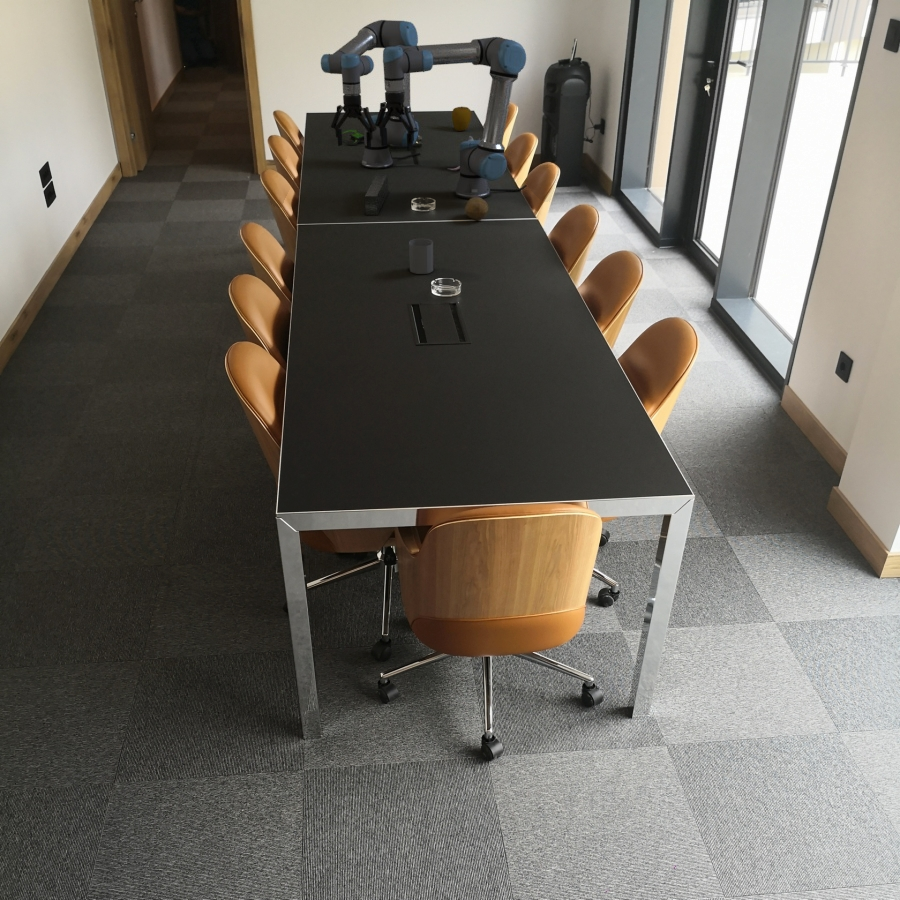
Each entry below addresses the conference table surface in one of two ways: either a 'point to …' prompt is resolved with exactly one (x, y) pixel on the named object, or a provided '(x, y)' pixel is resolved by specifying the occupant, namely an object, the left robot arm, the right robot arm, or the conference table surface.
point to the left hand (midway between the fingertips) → (354, 146)
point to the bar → (376, 194)
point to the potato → (476, 208)
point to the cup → (421, 256)
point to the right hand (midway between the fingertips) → (397, 147)
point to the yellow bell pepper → (461, 118)
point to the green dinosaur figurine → (355, 137)
